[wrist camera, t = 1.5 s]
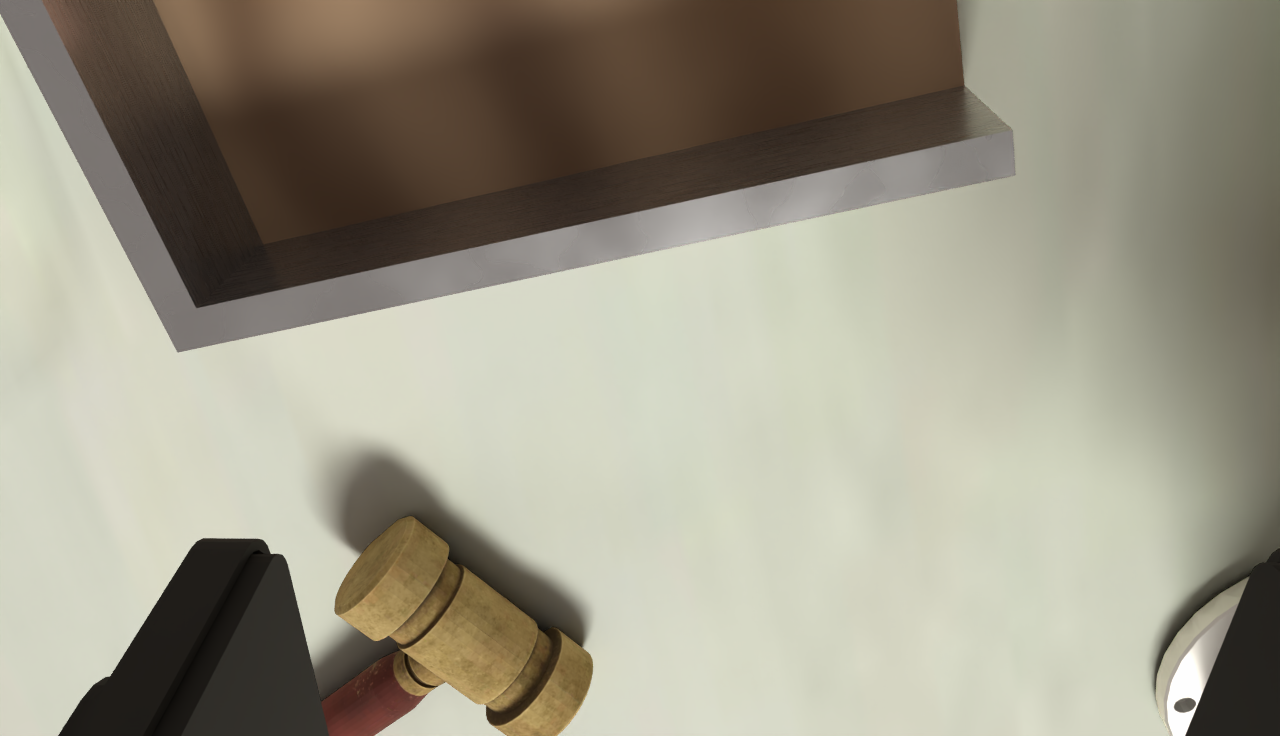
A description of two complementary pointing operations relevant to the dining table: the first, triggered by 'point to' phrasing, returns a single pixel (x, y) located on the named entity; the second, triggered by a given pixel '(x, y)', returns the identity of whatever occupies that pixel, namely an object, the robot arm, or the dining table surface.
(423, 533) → the gavel
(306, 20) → the walnut board
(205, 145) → the metal walls
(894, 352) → the dining table surface
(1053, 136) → the dining table surface
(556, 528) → the dining table surface
